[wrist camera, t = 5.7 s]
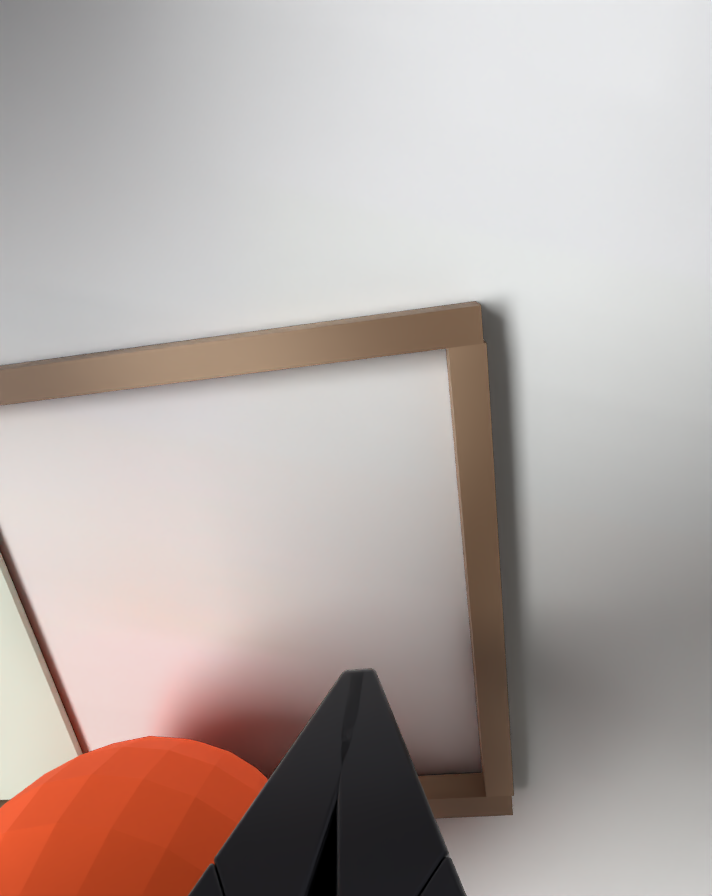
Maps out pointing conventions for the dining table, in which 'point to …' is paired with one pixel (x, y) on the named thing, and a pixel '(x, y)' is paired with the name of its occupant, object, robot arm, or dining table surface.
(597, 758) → the dining table surface
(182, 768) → the clementine
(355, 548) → the dining table surface
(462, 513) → the wooden tray
